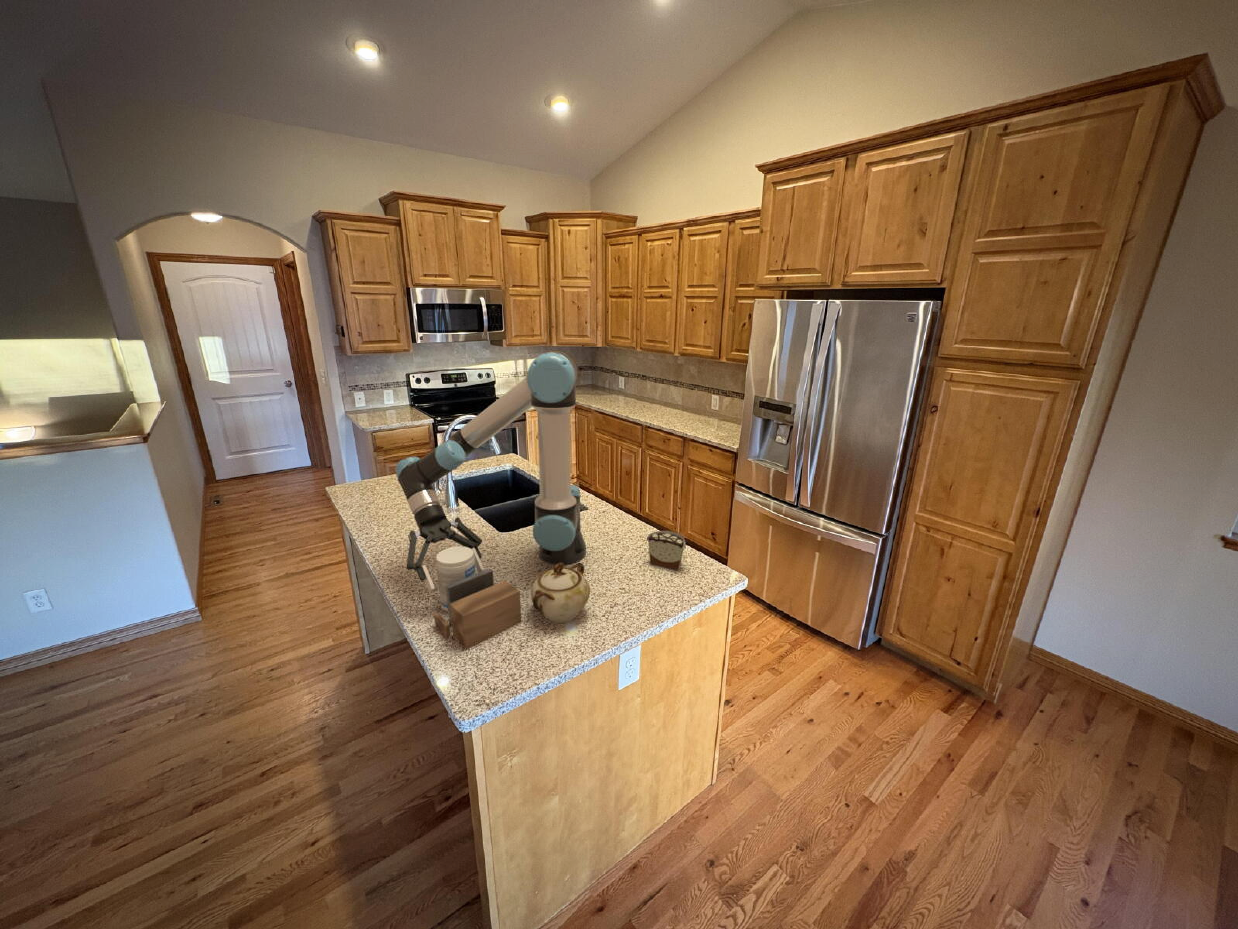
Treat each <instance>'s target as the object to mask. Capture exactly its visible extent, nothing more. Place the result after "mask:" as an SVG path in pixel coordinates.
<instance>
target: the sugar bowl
mask: <svg viewBox="0 0 1238 929" xmlns="http://www.w3.org/2000/svg"><path fill="white" fill-rule="evenodd" d="M584 573H585V565H584V563H582V562H577V563H575V564H573V565H571V566H570V567H565V565H564V564H563V563H558V564H555V566H554V568H551V569H548V570H545V571H544V572H542V573H541V574H540V575H539V576H538V577H537V578H536V579H535V581H534V582H533V584H532V586H531V590H530V599H531V601H532V605H533V608H534V609H535V610H537V611H538V612H539V613H540V614H541V615H543V616H544V617H546V618H547V620H548V621H550V622H553V623H556V624H563V623H567V622H571V621H572V620H573V619H575V618H576V617H577V616H578V614H579V613H580V612H581V611H582V609H584V608H585V605H586V604H587V603H588V600H589V598H590V595H591V588H590V587H591V586H590V584H589V582H588V580H587V578H586V577H585V576H584Z"/></svg>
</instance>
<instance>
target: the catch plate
mask: <svg viewBox="0 0 1238 929" xmlns="http://www.w3.org/2000/svg"><path fill="white" fill-rule="evenodd" d="M493 585H495V582H494V571H493V570H492V569H491V568H488V569H484V570H483V571H482V572H479V573H478V572H476V574H474V575H472V576H469V577H467V578H464V579H462V580H459V581H456V582H454V583H451V584H449V585H446V595H447V604H448V611H447V612H448V620H449V622H450V623H451V614H450V605H449V604H450V603H453V602H455V601H457V600H460V599H462V598H464V597H467V596H469V595H472V594H474V593H476V592H479V591H481V590H484V589H486V588H488V587H491V586H493Z"/></svg>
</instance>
